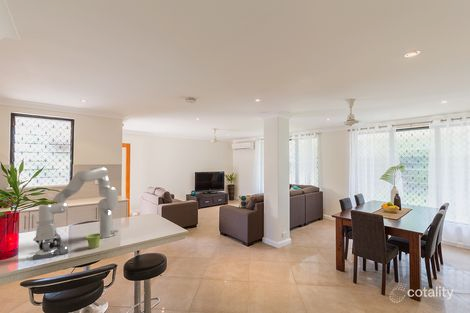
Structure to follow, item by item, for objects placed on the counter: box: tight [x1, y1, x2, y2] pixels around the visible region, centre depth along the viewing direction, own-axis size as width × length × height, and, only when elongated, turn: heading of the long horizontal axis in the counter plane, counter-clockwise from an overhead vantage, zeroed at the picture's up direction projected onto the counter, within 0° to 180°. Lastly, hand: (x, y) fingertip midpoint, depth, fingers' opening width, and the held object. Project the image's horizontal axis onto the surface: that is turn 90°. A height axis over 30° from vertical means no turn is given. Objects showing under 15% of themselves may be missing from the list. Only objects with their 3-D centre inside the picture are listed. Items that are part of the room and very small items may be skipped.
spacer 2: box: [58, 244, 69, 256], centre depth 149 cm, size 5×5×5 cm
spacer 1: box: [42, 241, 51, 251], centre depth 147 cm, size 5×5×5 cm
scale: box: [32, 236, 64, 261], centre depth 149 cm, size 16×11×8 cm
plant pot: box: [85, 232, 101, 250], centre depth 159 cm, size 9×9×9 cm
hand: (47, 248), depth 147 cm, fingers open, 5 cm apart
